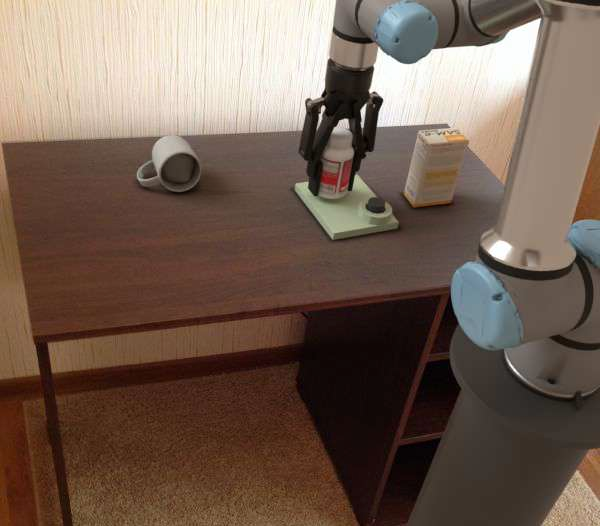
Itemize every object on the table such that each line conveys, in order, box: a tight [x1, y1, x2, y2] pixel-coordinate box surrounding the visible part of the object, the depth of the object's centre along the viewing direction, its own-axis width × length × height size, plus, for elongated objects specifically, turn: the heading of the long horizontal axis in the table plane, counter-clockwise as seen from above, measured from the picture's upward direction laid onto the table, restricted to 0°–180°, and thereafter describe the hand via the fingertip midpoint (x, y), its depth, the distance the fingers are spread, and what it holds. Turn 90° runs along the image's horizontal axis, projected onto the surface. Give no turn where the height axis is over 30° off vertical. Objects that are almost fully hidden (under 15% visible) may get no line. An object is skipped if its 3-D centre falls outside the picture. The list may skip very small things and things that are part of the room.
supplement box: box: [403, 127, 470, 208], centre depth 137 cm, size 8×5×13 cm, turn 111°
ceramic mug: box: [136, 134, 202, 193], centre depth 133 cm, size 11×8×8 cm
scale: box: [294, 174, 400, 241], centre depth 135 cm, size 16×13×3 cm
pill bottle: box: [318, 126, 354, 199], centre depth 132 cm, size 6×6×11 cm
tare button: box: [367, 196, 386, 214], centre depth 132 cm, size 3×3×2 cm
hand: (330, 189), depth 136 cm, fingers closed on pill bottle, 6 cm apart
